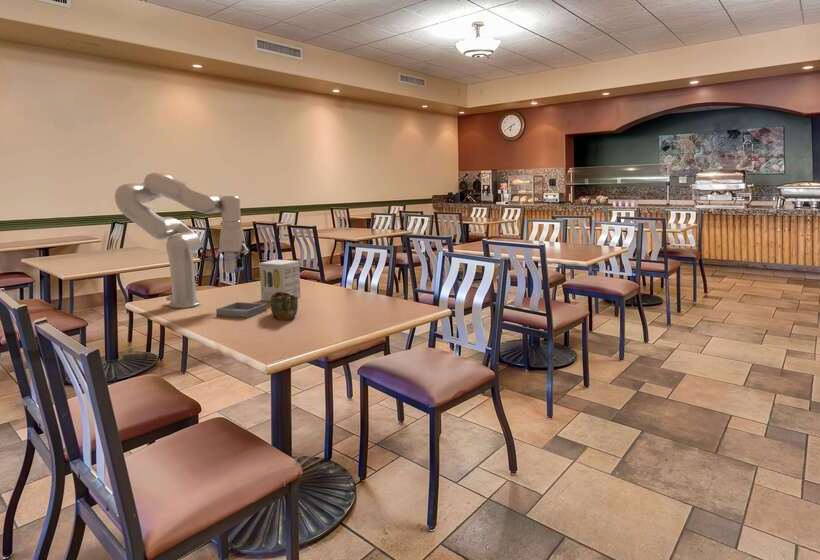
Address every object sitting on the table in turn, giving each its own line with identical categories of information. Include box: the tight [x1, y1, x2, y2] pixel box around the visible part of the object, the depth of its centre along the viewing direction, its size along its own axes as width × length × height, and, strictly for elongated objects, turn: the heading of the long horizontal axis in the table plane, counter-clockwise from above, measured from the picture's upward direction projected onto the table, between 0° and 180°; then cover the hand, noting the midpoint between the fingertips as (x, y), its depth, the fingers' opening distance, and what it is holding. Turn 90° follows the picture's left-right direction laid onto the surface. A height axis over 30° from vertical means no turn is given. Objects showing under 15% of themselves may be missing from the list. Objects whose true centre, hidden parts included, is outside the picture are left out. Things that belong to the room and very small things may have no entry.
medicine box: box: [223, 252, 244, 274], centre depth 225 cm, size 8×4×9 cm, turn 169°
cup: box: [269, 292, 299, 321], centre depth 208 cm, size 13×20×10 cm, turn 177°
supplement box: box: [259, 259, 301, 302], centre depth 242 cm, size 13×13×18 cm
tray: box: [215, 301, 267, 320], centre depth 214 cm, size 14×14×3 cm
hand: (234, 267), depth 225 cm, fingers closed on medicine box, 4 cm apart
